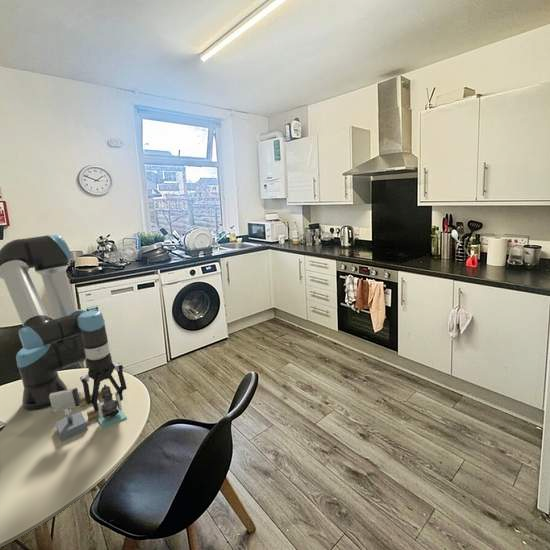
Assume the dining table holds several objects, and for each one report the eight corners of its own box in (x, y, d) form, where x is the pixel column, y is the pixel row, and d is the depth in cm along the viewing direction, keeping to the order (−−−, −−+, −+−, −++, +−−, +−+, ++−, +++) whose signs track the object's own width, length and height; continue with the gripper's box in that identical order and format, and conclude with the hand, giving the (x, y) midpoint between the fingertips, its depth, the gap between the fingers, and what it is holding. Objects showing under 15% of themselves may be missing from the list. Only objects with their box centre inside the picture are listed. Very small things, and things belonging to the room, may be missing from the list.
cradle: (81, 405, 132) (79, 398, 131) (105, 395, 138) (104, 388, 137) (89, 420, 123) (87, 413, 122) (115, 409, 128) (113, 402, 128)
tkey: (56, 425, 116) (48, 396, 113) (58, 421, 118) (50, 393, 115) (82, 419, 118) (75, 390, 115) (84, 416, 120) (77, 387, 117)
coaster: (97, 418, 124) (96, 417, 124) (119, 408, 129) (119, 407, 129) (103, 429, 118) (102, 427, 118) (126, 418, 123) (126, 416, 123)
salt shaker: (112, 419, 120) (106, 390, 116) (98, 418, 121) (91, 388, 118) (123, 409, 125) (117, 380, 122) (109, 407, 126) (103, 379, 123)
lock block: (57, 429, 119) (55, 421, 119) (82, 418, 124) (80, 411, 123) (61, 441, 113) (59, 433, 113) (87, 429, 118) (86, 421, 118)
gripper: (69, 369, 108) (84, 430, 114) (129, 349, 120) (140, 405, 126) (65, 361, 114) (79, 420, 120) (123, 342, 125) (133, 397, 131)
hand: (110, 412), depth 123 cm, fingers closed on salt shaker, 6 cm apart
